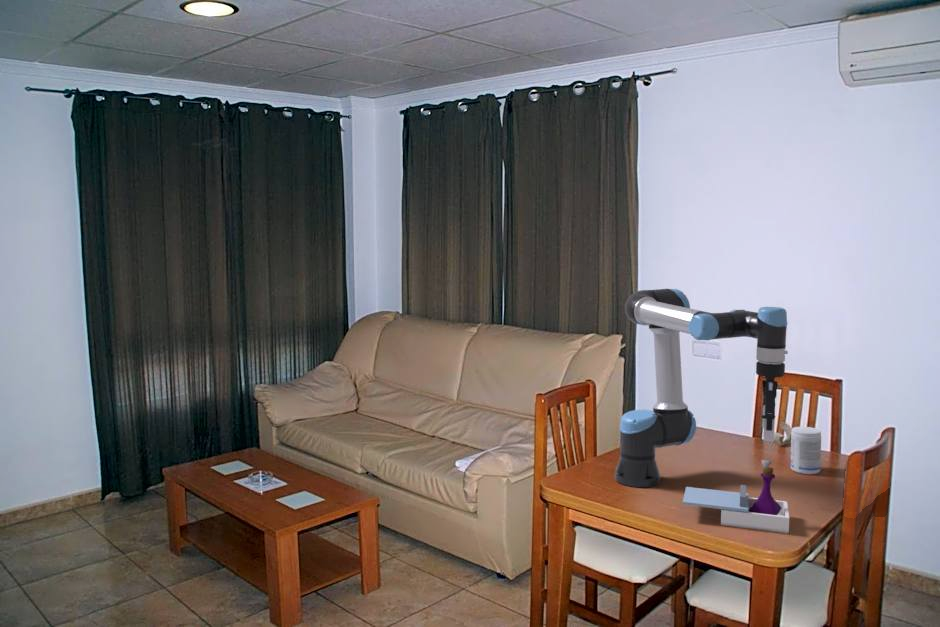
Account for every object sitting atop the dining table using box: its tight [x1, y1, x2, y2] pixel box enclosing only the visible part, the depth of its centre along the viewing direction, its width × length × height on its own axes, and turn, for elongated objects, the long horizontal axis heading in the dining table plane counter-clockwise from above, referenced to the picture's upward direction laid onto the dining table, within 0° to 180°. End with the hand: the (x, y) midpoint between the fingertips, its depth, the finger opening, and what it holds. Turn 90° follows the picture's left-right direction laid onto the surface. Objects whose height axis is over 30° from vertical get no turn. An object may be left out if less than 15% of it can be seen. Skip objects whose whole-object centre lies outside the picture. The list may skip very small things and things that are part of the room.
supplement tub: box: [790, 426, 822, 475], centre depth 252 cm, size 10×10×15 cm
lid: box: [682, 484, 749, 512], centre depth 214 cm, size 18×13×4 cm
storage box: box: [720, 496, 790, 534], centre depth 211 cm, size 18×13×4 cm
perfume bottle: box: [749, 459, 782, 515], centre depth 209 cm, size 8×8×18 cm
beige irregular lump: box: [773, 421, 792, 447], centre depth 283 cm, size 9×6×10 cm
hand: (767, 434), depth 207 cm, fingers open, 13 cm apart
